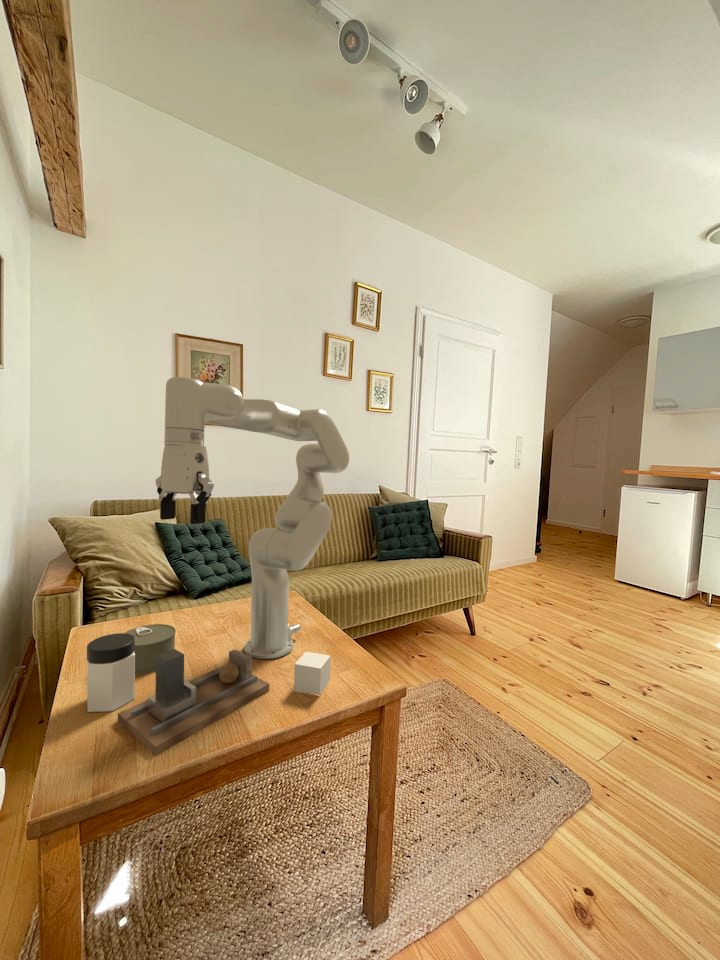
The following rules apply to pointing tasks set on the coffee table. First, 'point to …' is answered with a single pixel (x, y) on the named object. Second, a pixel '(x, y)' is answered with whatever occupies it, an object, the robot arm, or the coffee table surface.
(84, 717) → the coffee table surface
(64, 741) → the coffee table surface
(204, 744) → the coffee table surface
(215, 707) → the board
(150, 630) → the can
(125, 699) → the jar
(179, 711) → the handle
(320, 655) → the white cube
